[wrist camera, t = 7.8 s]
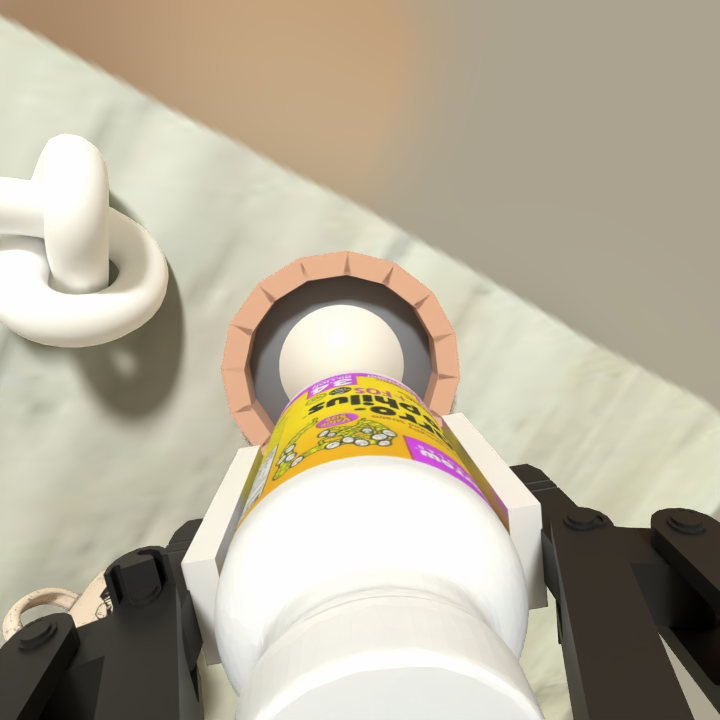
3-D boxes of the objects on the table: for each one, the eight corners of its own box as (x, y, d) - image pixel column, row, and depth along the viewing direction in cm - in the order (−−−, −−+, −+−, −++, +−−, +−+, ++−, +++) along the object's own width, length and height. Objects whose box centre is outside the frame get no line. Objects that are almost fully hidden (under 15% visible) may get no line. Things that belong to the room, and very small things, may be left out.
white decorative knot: (225, 261, 32) (186, 260, 23) (106, 374, 33) (26, 413, 24) (100, 129, 30) (5, 73, 21) (-23, 255, 31) (-162, 251, 22)
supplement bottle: (459, 396, 19) (723, 669, 6) (401, 536, 20) (522, 1012, 7) (302, 342, 18) (229, 529, 5) (250, 492, 19) (89, 941, 6)
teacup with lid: (221, 592, 37) (173, 736, 26) (159, 671, 38) (87, 843, 27) (88, 514, 35) (-28, 634, 24) (27, 600, 36) (-111, 753, 25)
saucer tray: (255, 481, 35) (249, 499, 33) (211, 272, 32) (199, 273, 29) (458, 447, 36) (469, 462, 33) (435, 238, 33) (445, 236, 30)
